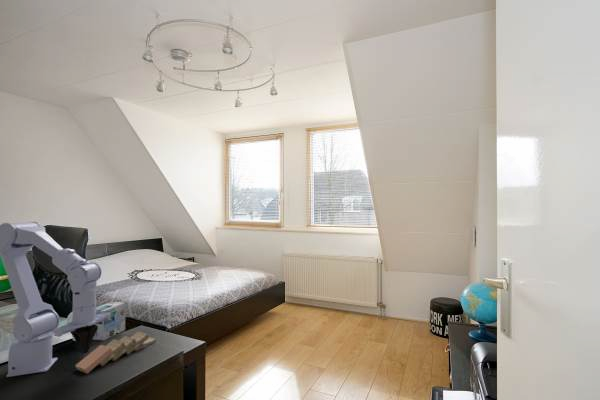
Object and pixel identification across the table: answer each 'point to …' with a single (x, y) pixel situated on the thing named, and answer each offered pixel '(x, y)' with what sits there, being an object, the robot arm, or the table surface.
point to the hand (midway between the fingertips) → (83, 352)
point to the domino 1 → (93, 359)
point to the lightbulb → (69, 319)
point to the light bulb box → (112, 325)
